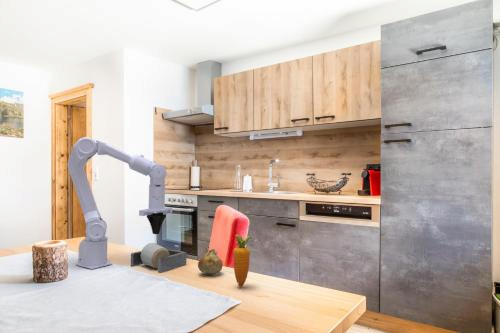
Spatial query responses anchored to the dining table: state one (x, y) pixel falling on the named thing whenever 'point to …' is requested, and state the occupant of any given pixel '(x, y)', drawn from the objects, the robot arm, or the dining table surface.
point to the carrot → (241, 260)
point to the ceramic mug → (153, 254)
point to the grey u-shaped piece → (163, 260)
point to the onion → (210, 263)
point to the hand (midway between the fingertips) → (155, 233)
